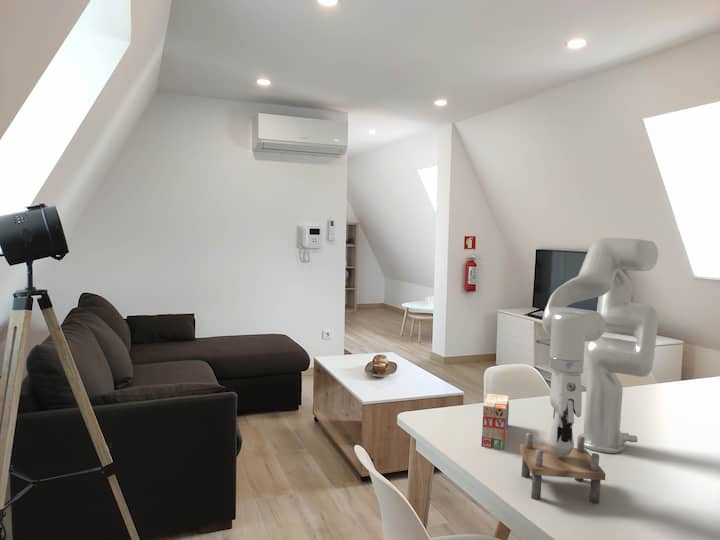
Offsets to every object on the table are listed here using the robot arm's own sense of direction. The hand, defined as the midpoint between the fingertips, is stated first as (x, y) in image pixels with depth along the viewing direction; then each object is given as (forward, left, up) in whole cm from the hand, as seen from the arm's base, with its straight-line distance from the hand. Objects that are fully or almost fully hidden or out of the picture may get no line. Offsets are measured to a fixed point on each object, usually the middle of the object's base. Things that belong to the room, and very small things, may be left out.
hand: (561, 439), depth 127 cm
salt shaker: (0, 0, -3) cm, 3 cm away
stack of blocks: (+10, -32, -12) cm, 36 cm away
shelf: (0, 0, -12) cm, 12 cm away
